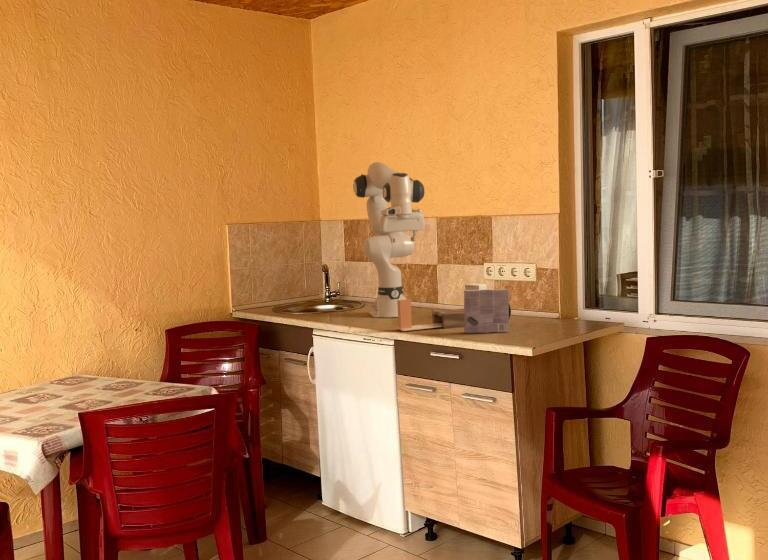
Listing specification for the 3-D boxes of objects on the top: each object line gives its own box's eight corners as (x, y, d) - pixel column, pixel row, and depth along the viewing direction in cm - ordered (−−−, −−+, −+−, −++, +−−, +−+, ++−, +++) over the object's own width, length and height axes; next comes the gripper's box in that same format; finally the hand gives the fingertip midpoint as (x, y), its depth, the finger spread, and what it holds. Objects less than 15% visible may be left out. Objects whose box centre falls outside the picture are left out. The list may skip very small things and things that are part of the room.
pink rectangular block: (396, 328, 352) (395, 299, 350) (441, 324, 359) (440, 295, 358) (403, 331, 345) (401, 301, 343) (448, 326, 352) (447, 297, 351)
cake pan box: (511, 330, 337) (509, 287, 335) (512, 332, 332) (511, 289, 330) (464, 332, 338) (462, 289, 336) (465, 334, 333) (463, 291, 331)
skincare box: (464, 318, 378) (463, 284, 376) (473, 316, 383) (472, 282, 381) (479, 319, 372) (478, 285, 371) (488, 317, 377) (487, 283, 375)
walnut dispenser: (432, 325, 360) (431, 309, 359) (469, 321, 366) (468, 306, 366) (444, 328, 348) (443, 313, 348) (482, 324, 355) (481, 309, 354)
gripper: (420, 209, 364) (422, 240, 365) (377, 211, 357) (378, 243, 358) (426, 209, 358) (427, 240, 359) (382, 211, 351) (384, 243, 352)
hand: (403, 241), depth 359 cm, fingers open, 8 cm apart
